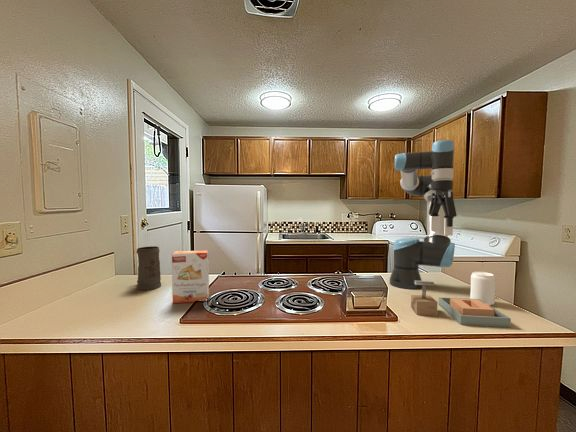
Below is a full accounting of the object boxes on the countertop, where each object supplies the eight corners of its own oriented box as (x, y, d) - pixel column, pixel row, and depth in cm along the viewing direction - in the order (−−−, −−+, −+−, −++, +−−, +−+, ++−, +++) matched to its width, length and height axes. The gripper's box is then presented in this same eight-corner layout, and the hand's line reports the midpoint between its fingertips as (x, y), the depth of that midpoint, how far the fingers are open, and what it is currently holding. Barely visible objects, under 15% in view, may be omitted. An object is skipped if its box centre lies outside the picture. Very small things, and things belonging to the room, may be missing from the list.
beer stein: (166, 285, 135) (164, 245, 135) (145, 291, 126) (143, 248, 126) (149, 283, 143) (146, 245, 143) (128, 288, 134) (125, 248, 134)
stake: (410, 307, 107) (411, 278, 106) (429, 308, 106) (430, 279, 105) (416, 314, 100) (417, 283, 99) (437, 315, 99) (437, 284, 98)
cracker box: (172, 304, 111) (171, 253, 110) (175, 299, 117) (174, 250, 116) (207, 301, 113) (206, 252, 112) (209, 297, 119) (208, 249, 118)
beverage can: (498, 306, 107) (499, 276, 106) (475, 305, 108) (476, 275, 108) (488, 299, 115) (488, 271, 114) (466, 298, 116) (467, 270, 116)
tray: (438, 304, 109) (438, 297, 109) (479, 306, 107) (479, 299, 107) (460, 324, 91) (460, 315, 91) (510, 327, 89) (510, 318, 89)
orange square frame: (449, 307, 105) (450, 298, 105) (480, 308, 103) (481, 299, 103) (462, 318, 95) (463, 308, 95) (497, 319, 94) (497, 309, 93)
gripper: (421, 182, 121) (420, 230, 122) (445, 177, 96) (444, 237, 97) (439, 182, 120) (438, 230, 121) (468, 177, 95) (466, 237, 96)
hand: (440, 233), depth 109 cm, fingers open, 13 cm apart
